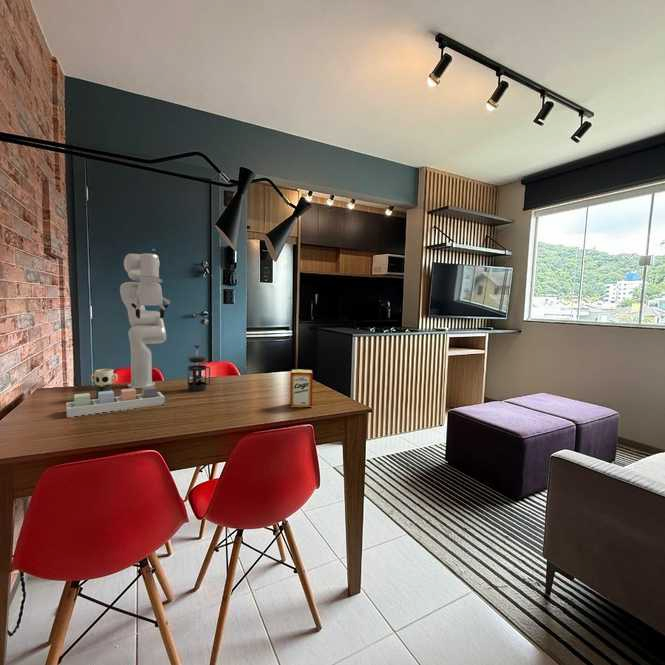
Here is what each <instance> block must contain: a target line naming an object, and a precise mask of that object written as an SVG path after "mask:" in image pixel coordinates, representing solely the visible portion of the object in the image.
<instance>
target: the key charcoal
mask: <svg viewBox="0 0 665 665" xmlns="http://www.w3.org/2000/svg"><path fill="white" fill-rule="evenodd" d="M157 392H158V388H157V387H156V385H154V386H149V387H142V388H141V394H142V397H143V398H152V397H157Z"/></svg>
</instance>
